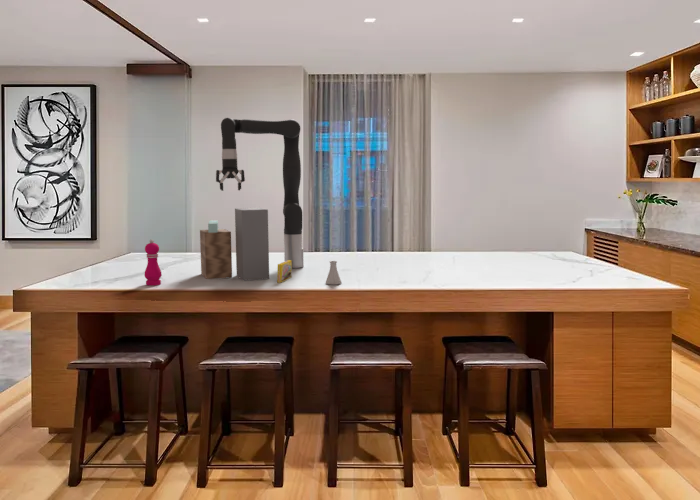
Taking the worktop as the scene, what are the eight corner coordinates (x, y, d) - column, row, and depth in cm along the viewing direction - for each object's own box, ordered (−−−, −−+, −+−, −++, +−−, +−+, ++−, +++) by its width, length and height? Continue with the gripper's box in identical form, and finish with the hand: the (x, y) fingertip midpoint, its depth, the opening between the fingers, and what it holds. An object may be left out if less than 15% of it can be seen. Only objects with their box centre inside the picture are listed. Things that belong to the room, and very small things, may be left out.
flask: (324, 282, 291) (324, 260, 290) (341, 282, 292) (341, 260, 290) (325, 285, 284) (325, 262, 283) (342, 285, 284) (342, 262, 283)
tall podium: (261, 274, 317) (259, 207, 313) (269, 278, 302) (267, 209, 298) (236, 275, 313) (234, 208, 309) (243, 280, 298) (241, 210, 294)
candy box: (281, 283, 291) (281, 264, 290) (277, 282, 292) (276, 264, 291) (292, 277, 307) (291, 259, 306) (287, 277, 308) (287, 259, 307)
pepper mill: (165, 283, 291) (163, 238, 289) (155, 286, 284) (153, 240, 282) (151, 282, 293) (149, 238, 291) (141, 285, 286) (139, 239, 284)
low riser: (226, 272, 322) (224, 229, 320) (232, 277, 307) (230, 231, 305) (201, 274, 318) (199, 229, 315) (206, 278, 303) (204, 232, 301)
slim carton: (218, 228, 323) (218, 220, 323) (217, 232, 301) (217, 223, 301) (210, 228, 322) (209, 220, 322) (208, 232, 301) (208, 223, 300)
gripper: (216, 158, 324) (217, 191, 326) (245, 158, 329) (246, 190, 331) (214, 158, 331) (215, 190, 333) (242, 158, 336) (243, 190, 338)
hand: (230, 190), depth 332 cm, fingers open, 8 cm apart
